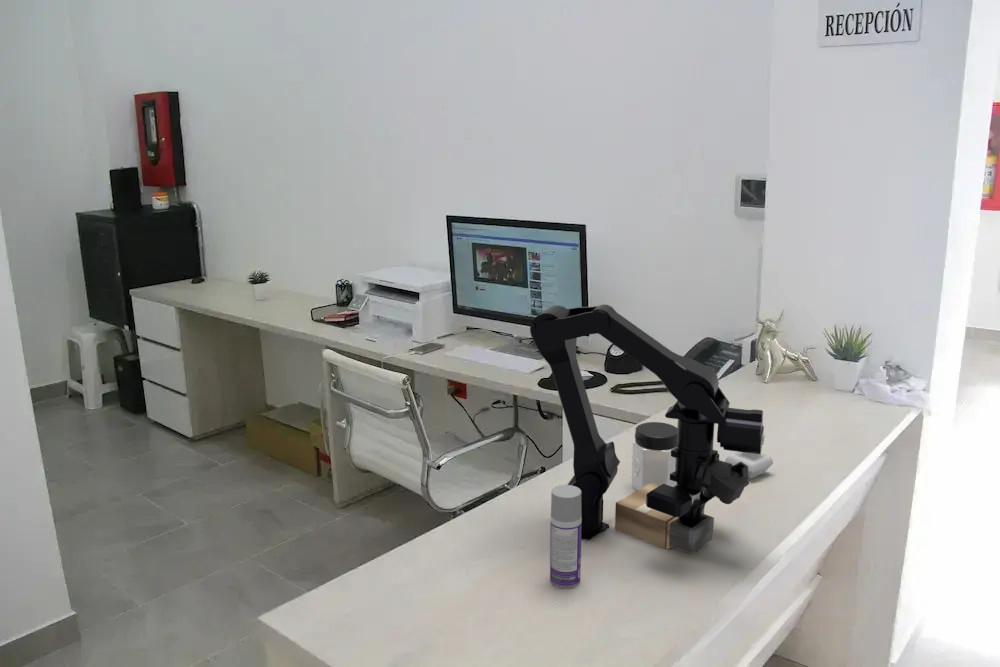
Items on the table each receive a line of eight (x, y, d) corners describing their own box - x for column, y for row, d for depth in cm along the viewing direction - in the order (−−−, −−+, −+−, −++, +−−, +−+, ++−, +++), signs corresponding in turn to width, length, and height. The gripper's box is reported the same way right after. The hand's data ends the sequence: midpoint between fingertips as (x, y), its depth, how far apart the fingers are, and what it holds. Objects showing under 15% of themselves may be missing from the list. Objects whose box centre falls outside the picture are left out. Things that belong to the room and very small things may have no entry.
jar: (625, 481, 163) (626, 423, 160) (662, 475, 165) (665, 418, 162) (646, 501, 154) (648, 440, 151) (685, 495, 157) (688, 435, 154)
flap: (691, 558, 134) (693, 531, 133) (666, 548, 137) (667, 522, 136) (725, 533, 142) (727, 508, 141) (700, 524, 145) (702, 499, 144)
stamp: (748, 485, 161) (751, 444, 158) (720, 474, 166) (722, 434, 163) (775, 473, 166) (779, 433, 164) (747, 462, 171) (750, 424, 169)
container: (561, 569, 132) (562, 481, 128) (586, 579, 129) (588, 489, 125) (543, 581, 128) (544, 492, 124) (569, 592, 125) (570, 501, 122)
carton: (664, 549, 138) (665, 520, 136) (614, 529, 144) (615, 502, 143) (699, 525, 145) (700, 498, 144) (650, 507, 152) (651, 481, 151)
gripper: (710, 477, 122) (704, 573, 126) (768, 441, 135) (761, 528, 139) (646, 457, 129) (642, 548, 133) (706, 424, 142) (701, 508, 146)
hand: (689, 533), depth 137 cm, fingers closed
